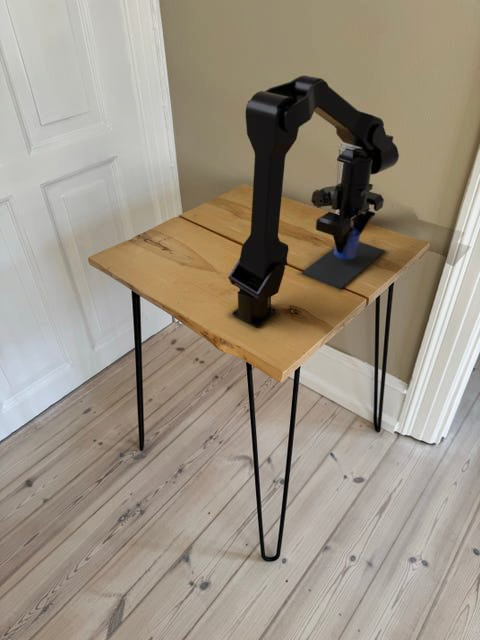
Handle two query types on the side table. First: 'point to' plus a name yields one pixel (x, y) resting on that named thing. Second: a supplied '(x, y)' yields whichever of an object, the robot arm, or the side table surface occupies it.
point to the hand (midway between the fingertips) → (346, 247)
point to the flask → (350, 245)
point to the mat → (342, 266)
